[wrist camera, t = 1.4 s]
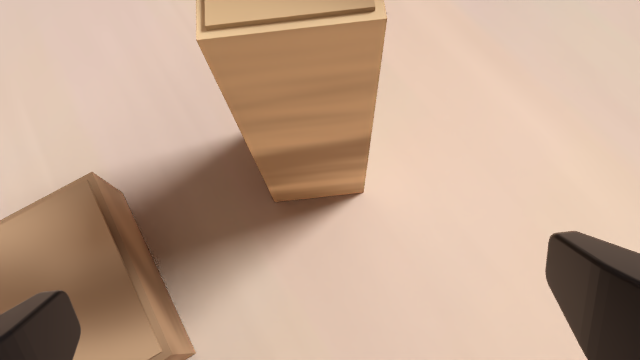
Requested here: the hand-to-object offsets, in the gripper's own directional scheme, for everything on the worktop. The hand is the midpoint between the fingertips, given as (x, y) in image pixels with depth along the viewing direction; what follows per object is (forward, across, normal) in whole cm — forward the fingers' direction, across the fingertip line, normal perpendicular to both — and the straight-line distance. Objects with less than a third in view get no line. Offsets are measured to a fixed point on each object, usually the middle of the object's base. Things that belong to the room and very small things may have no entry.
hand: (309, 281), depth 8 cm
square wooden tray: (+10, +12, +8) cm, 18 cm away
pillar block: (+15, 0, +3) cm, 16 cm away
